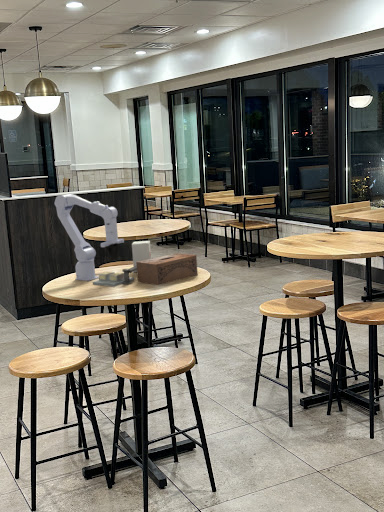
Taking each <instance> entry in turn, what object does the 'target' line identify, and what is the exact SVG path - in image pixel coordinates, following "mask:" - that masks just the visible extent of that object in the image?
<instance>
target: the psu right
mask: <svg viewBox="0 0 384 512" xmlns="http://www.w3.org/2000/svg"><path fill="white" fill-rule="evenodd" d="M109 279H110V281H113V282H119V281H122V280H124V272H115V273H114V274H111V275H109Z"/></svg>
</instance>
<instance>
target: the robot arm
mask: <svg viewBox="0 0 384 512" xmlns="http://www.w3.org/2000/svg"><path fill="white" fill-rule="evenodd" d="M75 205H77V206H79V207H82V208H85V209H88V210H89V212H90V213H92V214H95V215H97V216H99V217H101V218H102V219H103V221H104V231H105V238H106V239H105V240H106V241H104V242H101V243H100V248H105V249H106V250H107V252H108V254H109V256H110V258H111V260H112V261H114V260H117V258H118V252H119V249H120V247H121V245H120V244H122V243H123V244H124V243H125V239H124V238H119V236H118V233H119V232H118V224H117V217H118V216H119V215H118V210H117V208H116V207H115V206H109V205H108V204H106V205H105V204H102V203H101V202H100V201H98V200H97V201H93V202H91V201H89V200H87V199H84V198H82V197H80V196H79V195H77V194H73V193H67V194H66V193H65V194H59V195H57V196H56V197H55V200H54V206H55V209H56V214H57V217H58V219H59V220H60V222H61V224H62V226H63V227H64V229H65V231H66V233H67V234H68V236H69V238H70V240H71V241H72V243H73V245H74V249H73V250H74V253H75V258H76V259H77V262H76V264H75V277H76V278H75V280H78V281H87V282H89V281H92V280H96V279H99V276H96V270H95V257H96V255H97V252H96V249H95V248H94V247H92V246H91V244H90V243H89V242H87V241H86V240H85V238H84V236H83V235H82V233H81V232H80V230H79V228H78V226H77V225H76V223H75V221H74V219H73V218H72V216H71V214H70V213H71V211H72V209H73V207H74V206H75Z"/></svg>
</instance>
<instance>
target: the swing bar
mask: <svg viewBox="0 0 384 512" xmlns="http://www.w3.org/2000/svg"><path fill="white" fill-rule="evenodd" d="M136 270H137V265H136V266H132V267H130V268H123V269H122V272H121V273H124V272H129V274H131V273H135V272H134V271H136Z"/></svg>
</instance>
